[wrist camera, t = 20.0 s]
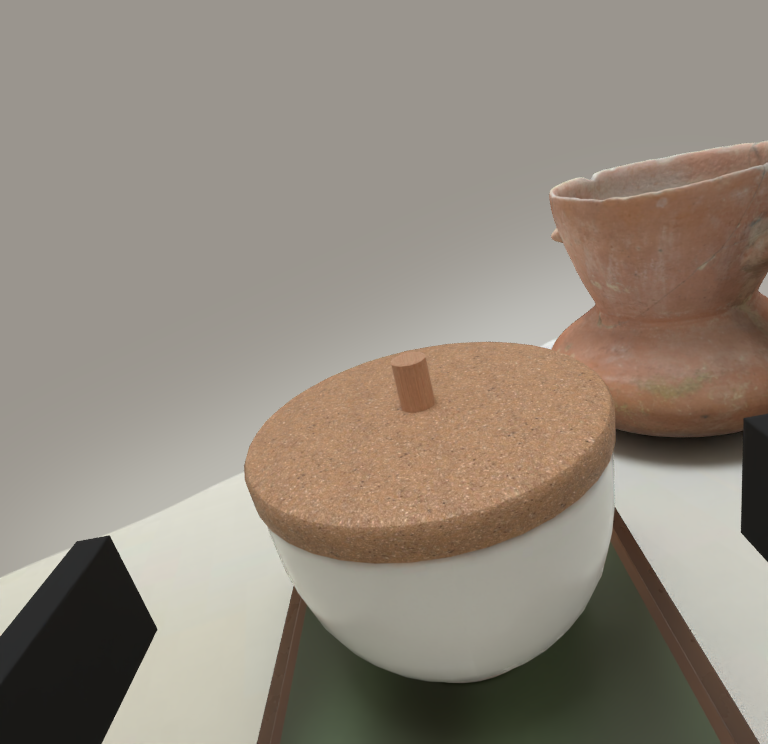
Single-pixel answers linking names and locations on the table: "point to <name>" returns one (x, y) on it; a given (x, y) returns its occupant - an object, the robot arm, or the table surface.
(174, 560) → the table surface
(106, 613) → the robot arm
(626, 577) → the holder
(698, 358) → the orange-brown waisted vessel
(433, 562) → the lidded bowl
